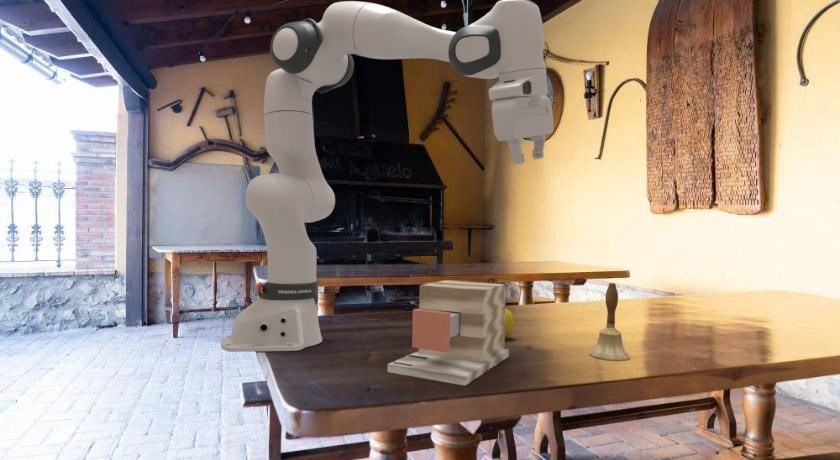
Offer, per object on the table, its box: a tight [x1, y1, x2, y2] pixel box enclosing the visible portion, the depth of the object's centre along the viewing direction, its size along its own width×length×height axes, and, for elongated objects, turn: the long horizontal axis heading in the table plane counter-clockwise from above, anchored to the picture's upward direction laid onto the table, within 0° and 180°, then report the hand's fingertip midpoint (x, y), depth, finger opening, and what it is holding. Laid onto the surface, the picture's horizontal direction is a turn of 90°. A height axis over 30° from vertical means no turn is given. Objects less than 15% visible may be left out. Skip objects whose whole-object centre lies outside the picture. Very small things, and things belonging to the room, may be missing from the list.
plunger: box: [411, 308, 461, 352], centre depth 102 cm, size 12×7×7 cm, turn 152°
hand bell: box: [589, 282, 631, 362], centre depth 114 cm, size 8×8×16 cm
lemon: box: [505, 307, 515, 338], centre depth 129 cm, size 6×6×8 cm
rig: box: [386, 279, 510, 386], centre depth 106 cm, size 24×16×16 cm
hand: (528, 161), depth 102 cm, fingers open, 8 cm apart
